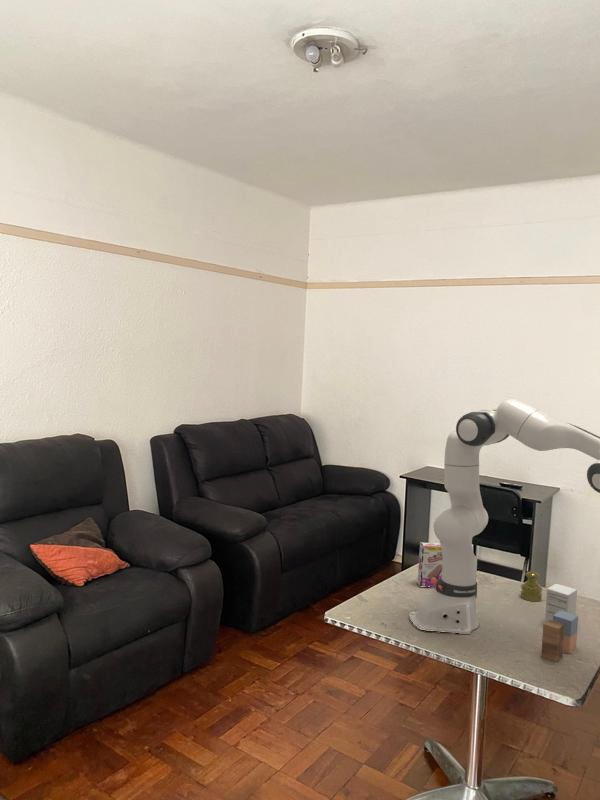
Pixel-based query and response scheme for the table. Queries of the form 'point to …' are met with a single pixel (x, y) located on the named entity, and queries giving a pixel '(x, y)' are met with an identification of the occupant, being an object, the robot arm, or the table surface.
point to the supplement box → (560, 600)
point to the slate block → (567, 622)
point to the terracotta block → (569, 643)
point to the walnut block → (552, 640)
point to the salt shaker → (531, 588)
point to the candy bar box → (429, 563)
